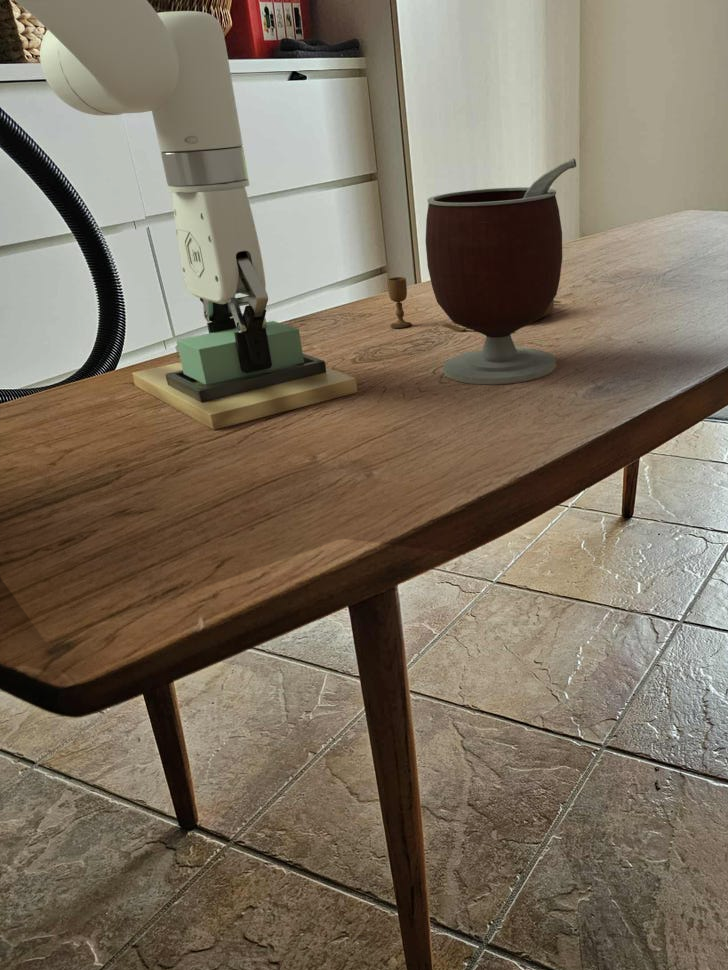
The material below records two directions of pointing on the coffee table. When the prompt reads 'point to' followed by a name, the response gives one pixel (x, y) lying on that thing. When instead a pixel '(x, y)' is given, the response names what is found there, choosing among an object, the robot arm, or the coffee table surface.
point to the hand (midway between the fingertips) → (242, 362)
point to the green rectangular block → (235, 353)
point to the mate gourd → (496, 272)
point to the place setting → (399, 293)
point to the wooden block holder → (245, 391)
